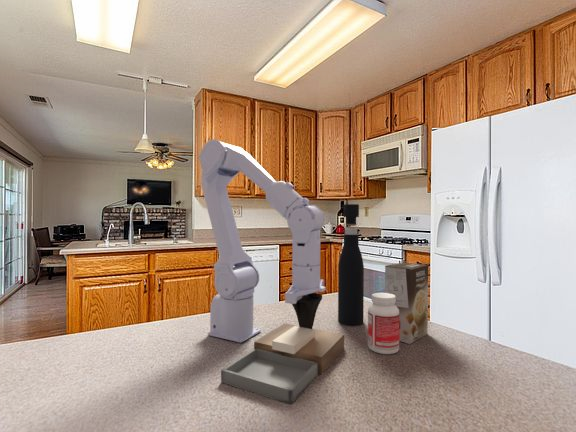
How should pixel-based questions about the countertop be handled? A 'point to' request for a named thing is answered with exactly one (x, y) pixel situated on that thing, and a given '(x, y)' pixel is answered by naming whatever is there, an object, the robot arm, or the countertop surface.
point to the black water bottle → (351, 273)
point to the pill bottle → (383, 324)
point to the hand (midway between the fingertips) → (306, 330)
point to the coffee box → (409, 298)
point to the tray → (271, 374)
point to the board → (308, 346)
